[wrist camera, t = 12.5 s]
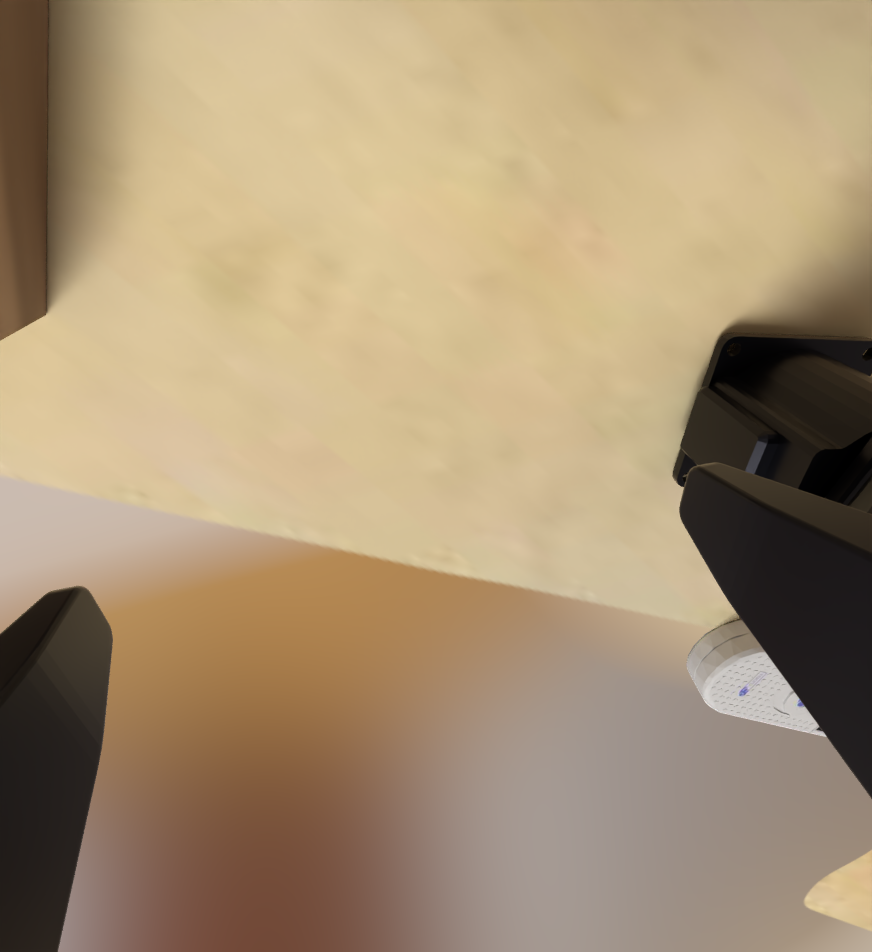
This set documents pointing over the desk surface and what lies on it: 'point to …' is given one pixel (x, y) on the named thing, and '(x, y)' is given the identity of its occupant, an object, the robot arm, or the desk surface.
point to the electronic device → (745, 680)
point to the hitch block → (23, 162)
